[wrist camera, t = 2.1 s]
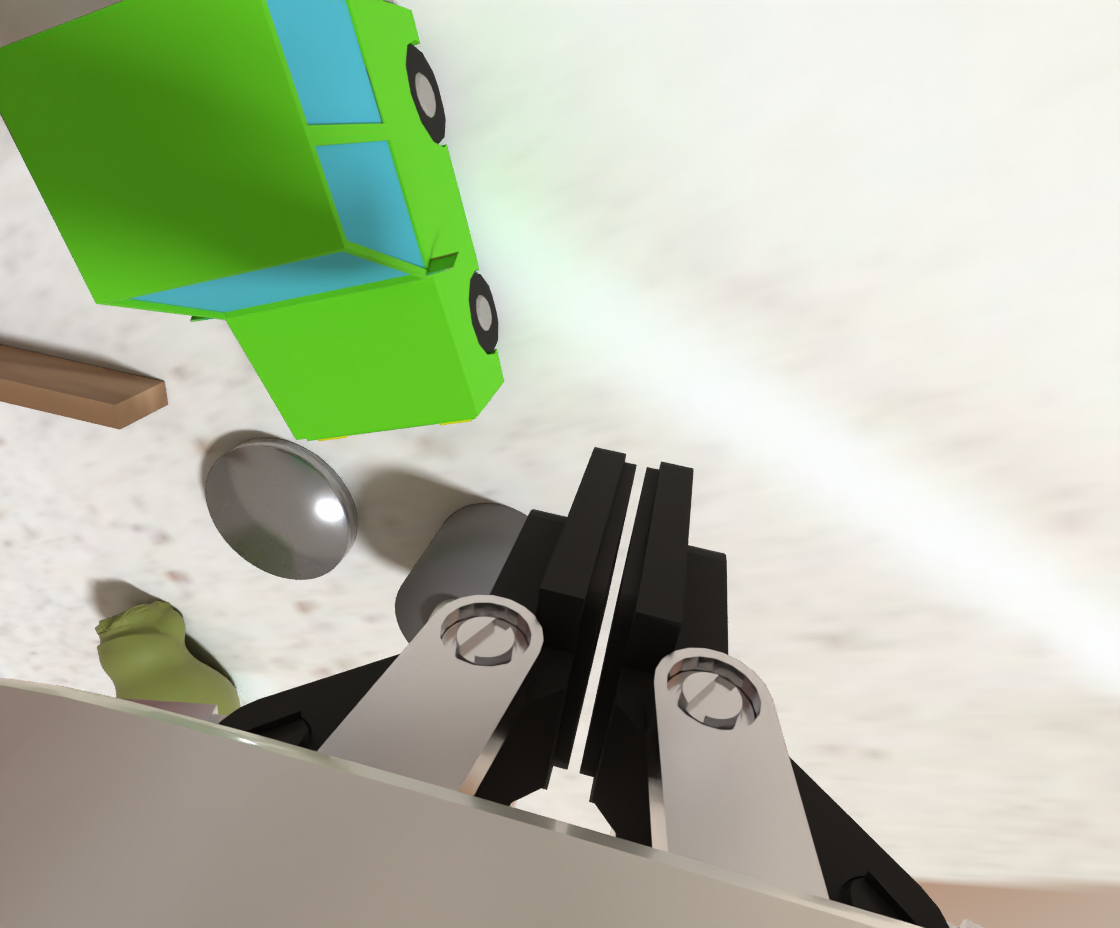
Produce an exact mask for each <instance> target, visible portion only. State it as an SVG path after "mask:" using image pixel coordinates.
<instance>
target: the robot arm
mask: <svg viewBox="0 0 1120 928" xmlns="http://www.w3.org/2000/svg"><path fill="white" fill-rule="evenodd" d="M625 458H626V454H624V453H620V452H615V451H611V450H606V449H601V448H597V447H595V448H594V450H593V452H592V455H591V457H590V460H589V463H588V465H587V468H586V470H585V473H584V476H583V478H582V481H581V483H580V486H579V488H578V491H577V494H576V496H575V499H574V501H573V504H572V507H571V509H570V512H569V514H568V517H565V516H560V515H556V514H552V513H547V512H543V511H539V510H535V509H533V510H531V512H530V513H529V515H528V517H527V519H526V521H525V523H524V525H523V527H522V529H521V531H520V533H519V535H518V537H517V539H516V541H515V543H514V545H513V547H512V550H511V552H510V554H509V556H508V558H507V560H506V562H505V564H504V566H503V568H502V570H501V572H500V574H499V576H498V578H497V580H496V582H495V584H494V586H493V588H492V590H491V592H490V594H489V595H473V596H468V597H462V598H459V599H457V600H454V601H452V602H450V603H447V604H446V605H444V606H443V607H442V608H441V609H440V610H438V611H437V612H436V613H435V614H434V615H433V616H432V618H431V619H430V620H429V621H428V622H427V623H426V625H425V626H424V627H423V628H422V629H421V630H420V632H419V633H418V634H417V635H416V636H415V637H414V639H413V640H412V641H411V642H410V643H409V644H408V646H407V647H406V648H405V649H404V650H403V651H402V653H401V654H398V655H395V656H392V657H389V658H386V659H383V660H379V661H376V662H373V663H370V664H367V665H364V666H361V667H358V668H355V669H351V670H348V671H345V672H342V673H339V674H336V675H333V676H330V677H327V678H324V679H320V680H317V681H314V682H311V683H308V684H305V685H302V686H299V687H296V688H292V689H289V690H286V691H283V692H280V693H277V694H274V695H271V696H268V697H264V698H261V699H258V700H256V701H254V702H251V703H249V704H247V705H245V706H242V707H240V708H238V709H237V710H235V711H234V712H232V713H231V714H230V715H220V714H218V708H217V705H216V704H201V703H187V702H172V701H157V700H142V699H127V698H114V697H110V696H105V695H101V694H96V693H91V692H87V691H82V690H78V689H73V688H69V687H64V686H58V685H51V684H44V683H37V682H30V681H23V680H16V679H4V678H0V928H984V927H983V926H980V925H978V924H976V923H974V922H972V921H970V920H968V919H966V918H965V919H964V921H963V922H962V923H961V925H960V926H959V927H958V926H956V925H954V924H952V923H950V922H948V921H946V920H945V918H944V916H943V915H942V913H941V911H940V909H939V908H938V906H936V904H935V903H934V902H933V901H932V899H931V898H930V897H929V896H928V895H927V893H926V892H925V891H924V890H923V889H922V888H921V886H920V885H919V884H918V883H917V882H916V881H915V880H914V879H913V878H912V877H911V876H910V875H909V874H908V873H906V872H905V871H904V870H903V869H902V868H901V867H900V866H899V865H898V864H897V863H896V862H895V861H894V860H893V859H892V858H891V857H890V856H889V855H888V854H887V853H886V852H885V851H884V850H883V849H882V848H881V847H880V846H879V845H878V844H877V843H876V842H875V841H874V840H873V839H872V838H871V837H870V836H869V835H868V834H867V833H866V832H865V831H864V830H863V829H862V828H861V827H860V826H859V825H858V824H857V823H856V822H855V821H854V820H853V819H852V818H851V817H850V816H849V815H848V814H847V813H846V812H845V811H844V810H843V809H842V808H841V807H840V806H839V805H838V804H837V803H836V802H835V801H834V800H833V799H832V798H831V797H830V796H829V795H828V794H827V793H825V792H824V791H823V790H822V789H821V788H820V787H819V786H818V785H817V784H816V783H815V782H814V781H813V780H812V779H811V778H810V777H809V776H808V775H807V774H806V773H805V772H804V771H803V770H802V769H801V768H800V767H799V766H798V765H797V764H796V763H795V762H794V761H793V760H792V759H791V758H790V757H789V755H788V751H787V747H786V744H785V740H784V737H783V733H782V730H781V726H780V723H779V719H778V716H777V712H776V709H775V705H774V701H773V699H772V697H771V694H770V692H769V690H768V688H767V686H766V684H765V683H764V682H763V681H762V680H761V679H760V677H759V676H758V675H757V674H756V673H755V672H754V671H753V670H752V669H750V668H749V667H747V666H746V665H745V664H743V663H742V662H741V661H739V660H737V659H735V658H733V657H731V656H729V655H728V615H727V560H726V555H725V554H724V553H720V552H715V551H711V550H707V549H702V548H698V547H694V546H689V545H688V537H689V524H690V510H691V497H692V483H693V468H688V467H684V466H679V465H675V464H670V463H665V462H661V464H660V468H659V470H658V469H653V468H649V467H647V469H646V473H645V478H644V482H643V486H642V491H641V495H640V500H639V504H638V509H637V513H636V517H635V522H634V526H633V531H632V535H631V539H630V544H629V548H628V553H627V557H626V562H625V566H624V570H623V575H622V579H621V584H620V588H619V593H618V597H617V601H616V606H615V611H614V615H613V620H612V624H611V629H610V634H609V638H608V643H607V648H606V652H605V657H604V662H603V666H602V671H601V675H600V680H599V685H598V689H597V694H596V699H595V703H594V708H593V713H592V717H591V722H590V727H589V731H588V736H587V740H586V745H585V750H584V754H583V759H582V764H581V768H580V773H581V774H584V775H588V776H591V777H594V779H593V784H592V789H591V795H590V800H589V802H592V803H595V805H596V806H597V807H598V809H599V810H600V812H601V813H602V814H603V816H604V817H605V819H606V820H607V822H608V823H609V824H610V826H611V827H612V828H611V831H610V835H607V834H603V833H600V832H596V831H593V830H589V829H586V828H582V827H579V826H576V825H572V824H569V823H565V822H562V821H558V820H555V819H551V818H548V817H544V816H541V815H537V814H534V813H530V812H527V811H523V810H520V809H517V808H515V807H516V803H517V800H518V799H520V798H522V797H524V796H526V795H528V794H530V793H532V792H534V791H537V790H539V789H541V788H542V789H546V790H547V788H548V784H549V780H550V776H551V772H552V769H553V766H556V767H559V768H563V769H566V770H567V769H568V765H569V761H570V757H571V753H572V748H573V744H574V740H575V736H576V731H577V727H578V723H579V719H580V714H581V710H582V706H583V702H584V697H585V693H586V689H587V685H588V680H589V676H590V672H591V668H592V663H593V659H594V655H595V651H596V646H597V642H598V638H599V634H600V629H601V625H602V621H603V617H604V612H605V608H606V604H607V599H608V595H609V590H610V585H611V581H612V576H613V572H614V567H615V563H616V558H617V553H618V549H619V544H620V540H621V535H622V530H623V526H624V521H625V517H626V512H627V507H628V503H629V498H630V494H631V489H632V484H633V480H634V475H635V471H636V466H637V465H635V464H630V463H626V462H625Z"/></svg>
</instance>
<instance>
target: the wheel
mask: <svg viewBox="0 0 1120 928" xmlns="http://www.w3.org/2000/svg"><path fill="white" fill-rule="evenodd" d="M527 517H528V516H527V515H525V514H523V513H521V512H520V511H518V510H515V509H513V508H511V507H507V506H504V505H500V504H494V503H478V504H472V505H469V506H466V507H463V508H461V509H459V510H457V511H456V512H454V513H453V514H452V515H451V516H450V517H449V518H448V519H447V520H446V521H445V522H444V524H443V525H442V527H441V528H440V530H439V531H438V533H437V534H436V536H435V537H434V538H433V540H432V541H431V543H430V544H429V546H428V547H427V549H426V550H425V552H424V553H423V555H422V556H421V557H420V559H419V560H418V562H417V563H416V565H415V566H414V568H413V569H412V571H411V572H410V574H409V575H408V576H407V578H406V579H405V581H404V582H403V584H402V585H401V587H400V589H399V591H398V593H397V597H396V602H395V614H396V618H397V622H398V625H399V628H400V630H401V632H402V634H403V635H404V637H405V638H406V640H407V641H408V643H410V642H411V641H412V640H413V639H414V637H415V636H416V635H417V634H418V633H419V632H420V630H421V629H422V628H423V627H424V626H425V625H426V623H427V622H428V621H429V620H430V619H431V618H432V616H433V615H434V614H435V613H436V612H437V611H438V610H440V609H441V608H442V607H443V606H444V605H446V604H447V603H450V602H452V601H454V600H457V599H459V598H462V597H468V596H473V595H489V594H490V592H491V590H492V588H493V586H494V584H495V582H496V580H497V578H498V576H499V574H500V572H501V570H502V568H503V566H504V564H505V562H506V560H507V558H508V556H509V554H510V552H511V550H512V547H513V545H514V543H515V541H516V539H517V537H518V535H519V533H520V531H521V529H522V527H523V525H524V523H525V521H526V519H527Z"/></svg>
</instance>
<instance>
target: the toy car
mask: <svg viewBox="0 0 1120 928" xmlns="http://www.w3.org/2000/svg"><path fill="white" fill-rule="evenodd" d="M417 44H420V41H419V37H418V33H417V29H416V26H415V22H414V18H413V14H412V10H409V9H406V8H403V7H401V6H398V5H395V4H392V3H389V2H386V1H383V0H124V1H121V2H118V3H116V4H113V5H111V6H108V7H105V8H103V9H100V10H97V11H95V12H92V13H90V14H87V15H84V16H82V17H79V18H77V19H74V20H71V21H69V22H66V23H64V24H61V25H58V26H56V27H53V28H51V29H48V30H45V31H43V32H40V33H37V34H35V35H32V36H30V37H27V38H24V39H22V40H19V41H17V42H14V43H11V44H9V45H6V46H4V47H1V48H0V114H1V116H2V118H3V120H4V122H5V124H6V126H7V128H8V130H9V132H10V134H11V136H12V138H13V140H14V142H15V144H16V146H17V148H18V150H19V152H20V154H21V156H22V158H23V160H24V162H25V164H26V166H27V168H28V170H29V172H30V174H31V176H32V178H33V180H34V182H35V184H36V186H37V188H38V190H39V192H40V194H41V196H42V198H43V200H44V202H45V204H46V205H47V207H48V209H49V211H50V213H51V215H52V217H53V219H54V221H55V223H56V225H57V227H58V229H59V231H60V233H61V235H62V237H63V239H64V241H65V243H66V245H67V247H68V249H69V251H70V253H71V255H72V257H73V259H74V261H75V263H76V265H77V267H78V269H79V271H80V273H81V275H82V277H83V279H84V281H85V283H86V285H87V287H88V289H89V291H90V293H91V295H92V297H93V299H94V301H95V303H96V304H103V305H111V306H119V307H127V308H135V309H143V310H151V311H159V312H166V313H174V314H182V315H190V316H192V317H191V320H190V321H191V322H194V321H201V320H208V319H222V320H226V321H227V323H228V325H229V327H230V328H231V330H232V332H233V333H234V335H235V337H236V338H237V340H238V342H239V344H240V345H241V347H242V349H243V350H244V352H245V354H246V355H247V357H248V359H249V361H250V362H251V364H252V366H253V367H254V369H255V371H256V372H257V374H258V376H259V378H260V379H261V381H262V383H263V384H264V386H265V388H266V389H267V391H268V393H269V395H270V396H271V398H272V400H273V401H274V403H275V405H276V406H277V408H278V410H279V411H280V413H281V415H282V417H283V418H284V420H285V422H286V423H287V425H288V427H289V428H290V430H291V432H292V434H293V435H294V437H295V439H296V440H299V439H306V438H307V441H311V440H318V441H324V440H332V439H339V438H346V437H347V436H349V435H357V434H364V433H372V432H379V431H387V430H395V429H402V428H410V427H417V426H425V425H433V424H440V425H447V424H454V423H462V422H469V421H472V420H473V419H475V418H476V417H477V416H478V415H479V414H480V412H481V411H482V410H483V408H484V407H485V406H486V405H487V403H488V402H489V401H490V400H491V398H492V397H493V395H494V394H495V393H496V391H497V390H498V389H499V388H500V386H501V385H502V384H503V382H504V379H503V375H502V370H501V366H500V361H499V357H498V352H497V349H495V346H496V344H497V341H498V318H497V312H496V308H495V305H494V301H493V297H492V294H491V291H490V288H489V285H488V284H487V283H486V281H485V280H484V278H483V277H482V276H481V274H476V273H474V271H475V270H479V267H478V263H477V258H476V254H475V250H474V246H473V242H472V239H471V235H470V231H469V227H468V223H467V220H466V216H465V212H464V208H463V204H462V201H461V197H460V193H459V189H458V185H457V182H456V178H455V174H454V170H453V166H452V163H451V159H450V155H449V151H448V147H447V144H446V145H443V146H440V145H439V143H440V142H441V140H442V139H443V138H444V136H445V114H444V108H443V104H442V100H441V96H440V92H439V88H438V85H437V82H436V79H435V76H434V73H433V71H432V69H431V67H430V66H429V64H428V62H427V60H426V59H425V57H424V55H423V53H422V52H421V51H419V50H418V49H417V48H416V47H415V46H414V45H417ZM494 349H495V350H494Z"/></svg>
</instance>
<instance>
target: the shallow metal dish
mask: <svg viewBox="0 0 1120 928" xmlns="http://www.w3.org/2000/svg"><path fill="white" fill-rule="evenodd" d="M205 492H206V501H207V506H208V510H209V513H210V516H211V518H212V520H213V522H214V524H215V526H216V528H217V529H218V531H219V533H220V534H221V535H222V537H223V538H224V540H225V541H226V542H227V543H228V544H229V545H230V546H231V548H232V549H233V550H235V551H236V552H237V553H238V554H239V555H240V556H241V557H243V558H244V559H245V560H246V561H248V562H249V563H251V564H252V565H254V566H256V567H257V568H259V569H261V570H263V571H265V572H268V573H270V574H272V575H276V576H279V577H282V578H287V579H295V580H307V579H313V578H317V577H320V576H322V575H324V574H326V573H328V572H330V571H331V570H332V569H334V568H335V567H336V566H337V565H338V564H339V562H340V561H341V560H342V559H343V558H344V557H345V555H346V554H347V553H348V552H349V550H350V549H351V547H352V546H353V543H354V541H355V538H356V534H357V524H358V523H357V514H356V509H355V505H354V503H353V500H352V497H351V495H350V493H349V491H348V489H347V488H346V486H345V484H344V483H343V481H342V480H341V479H340V477H339V476H338V475H337V474H336V472H335V471H334V470H333V469H332V468H331V467H330V466H329V465H328V464H327V463H325V462H324V461H323V460H322V459H321V458H319V457H318V456H317V455H315V454H314V453H312V452H311V451H309V450H307V449H305V448H303V447H301V446H299V445H297V444H294V443H292V442H288V441H285V440H281V439H275V438H257V439H252V440H248V441H245V442H243V443H241V444H239V445H238V446H236V447H235V448H233V449H232V450H230V451H229V452H227V453H226V454H224V455H223V456H221V457H220V458H219V459H218V460H217V461H216V462H215V463H214V465H213V466H212V468H211V470H210V472H209V474H208V477H207V481H206V490H205Z"/></svg>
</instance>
